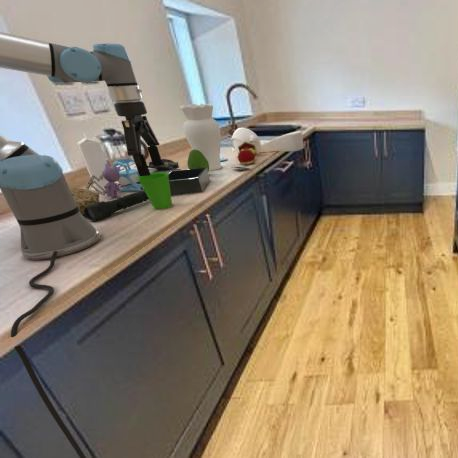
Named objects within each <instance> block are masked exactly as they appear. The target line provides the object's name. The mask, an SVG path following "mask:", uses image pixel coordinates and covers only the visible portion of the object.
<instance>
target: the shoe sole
mask: <svg viewBox="0 0 458 458" xmlns="http://www.w3.org/2000/svg"><path fill="white" fill-rule="evenodd" d="M259 140H260V143H261V150H260V151H259V152H258V153H270V152H298V151H301V150H303V149H304V148H305V147H304V138H303V131H301V130H300V131H299V130H298V131H291V132H289V133H286V134H285V133H284V134H283V135H280V136H277V137H275V138H272V139H271V140H265V139H264V140H263V139H259Z"/></svg>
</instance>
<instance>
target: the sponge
mask: <svg viewBox="0 0 458 458" xmlns="http://www.w3.org/2000/svg"><path fill="white" fill-rule="evenodd" d="M70 191H71V193H72V195H73V197H74V200H75V202H76V204H77V206H78V209H79V211H80V213H81V214H82V215H85V214H84V209H85V207H87V206H89V205H92V204H95V203H98V202H101V201H100V193H99V192H97V191H96V190H95V189H90V188H89V189H87V188H79V187H76V188H71V189H70Z"/></svg>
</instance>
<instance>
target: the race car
mask: <svg viewBox="0 0 458 458" xmlns="http://www.w3.org/2000/svg"><path fill="white" fill-rule="evenodd" d="M161 160H162V163H163V165H161V166H153V163H152V161H149V162H148V164H147V166H148V169H180V165H179V162H178V161H176V162H175V161H174V160H172V159H169V158H168V159H167V158H161Z"/></svg>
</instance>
